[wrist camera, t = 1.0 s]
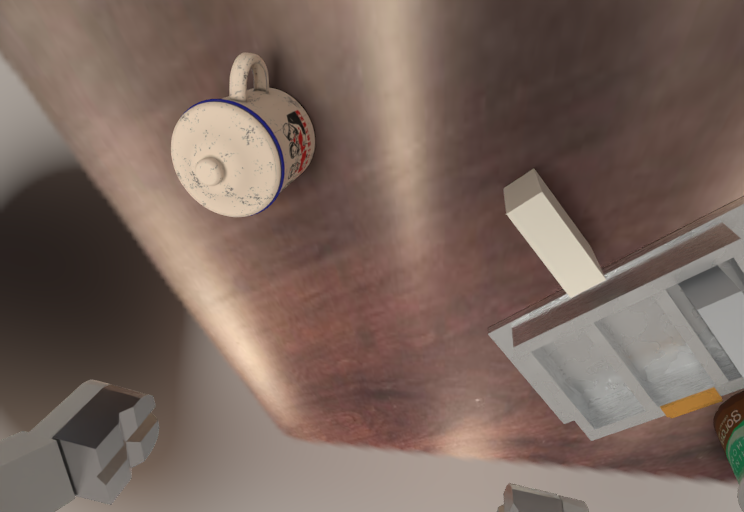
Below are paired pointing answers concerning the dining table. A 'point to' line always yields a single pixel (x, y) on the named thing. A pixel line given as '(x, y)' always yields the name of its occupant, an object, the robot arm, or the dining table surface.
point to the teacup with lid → (242, 144)
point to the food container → (733, 437)
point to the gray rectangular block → (719, 310)
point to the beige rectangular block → (552, 234)
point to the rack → (632, 334)
